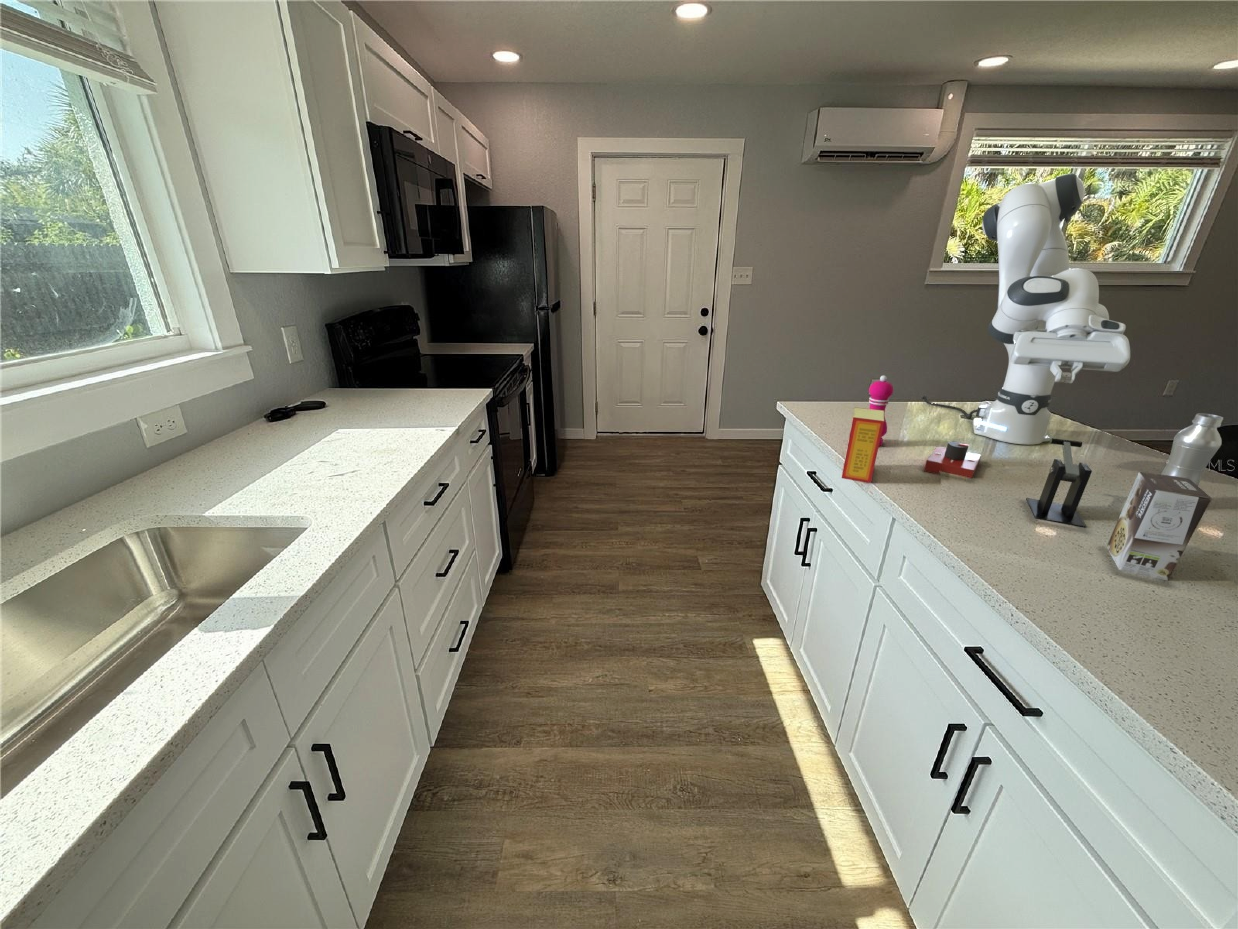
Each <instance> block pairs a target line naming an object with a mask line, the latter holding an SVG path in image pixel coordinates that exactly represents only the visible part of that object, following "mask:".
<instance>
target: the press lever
mask: <svg viewBox="0 0 1238 929" xmlns="http://www.w3.org/2000/svg"><path fill="white" fill-rule="evenodd" d="M1049 444H1051V445H1058V446H1059V445H1060V446H1061V449H1062V457H1063V464H1064V465H1065V467H1066V468H1065V470H1064V473H1063V476H1062V478H1061V481H1062V482H1068V483H1072V482H1073V483H1075V481H1076V480H1077V478H1078V477H1079V475H1080V473H1079V466H1078V465H1079V464H1074V460H1073V454H1072V447H1074V448H1082V446H1083V441H1079V440H1071V439H1063V438H1054V437H1050V441H1049ZM1061 481H1060V482H1061Z"/></svg>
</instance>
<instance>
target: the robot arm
mask: <svg viewBox="0 0 1238 929" xmlns="http://www.w3.org/2000/svg"><path fill="white" fill-rule="evenodd" d="M1085 188H1086V187H1085V184H1084V182H1083V180H1082V179H1081V178H1080V177H1079V176H1078V175H1077V174H1076V173H1073V172H1070V173H1064V174H1061V175H1058V176H1056V177H1055V178H1052V179H1049V180H1046V181H1043V182H1040V183H1035V182H1026V183H1022V184H1019V185H1016V186H1015V187H1013V188H1012V189H1010V190H1009V191H1007V193H1006V194H1005V195H1004V196H1003V198H1002V199H1001V202H996V203H994V204H993V205H992V206H990V207H989V208H987V209H986V211H985V212H984V214H982V220H981V228H982V232H983V233H984V235H985V237H987V239H988V240H990V241H992V242H997V254H998V255H997V256H998V257H997V258H998V282H997V299H996V313H995V314H994V316H993V317H992V319H991V321H990V322H989V324H988V327H987V331H988V334H989V335H990V337H992V339H994V340H995V341H997V342H999V343H1001V344H1003V346H1005V348H1006V351H1007V354H1008V355H1007V356H1008V365H1007V370H1006V375H1005V379H1004V382H1003V385H1002V387H1000V389H999V391H998V393H997V396H996V399H995V400H994V401H993V402H991V403H990V404H986V403H985V404H983V403H982V404H980V405H979V406H978V407H977V409H974V410H971V411H970V412H969V414H968V413H967V411H966V410H964V409H962V408H960V407H958V406H952V405H948V404H941V403H936V404H935V402H931V401H929V400H928V399H927V396H926V395H924V396H922V397H921V399H922V400H923V401H924V402H925V403H926V404H927V405H930V406H935V407H941V408H946V409H952V410H956V411H959V412H961V413H962V414H963V415H964V416H965V418H967V420H968V419H971V418H972V417H973V414H975V417H976V418H973V420H972V428H973V433H974V434H975V435H979V436H983V437H987V438H990V439H992V440H996V441H1000V442H1004V443H1008V444H1009V443H1010V444H1016V445H1028V446H1029V445H1031V446H1033V445H1039V444H1042V443H1045V442H1046V443H1047V442H1050V440H1051V436H1049V435H1047V433H1048V429H1049V426H1050V422H1051V417H1052V413H1051V411H1050V410H1048V407H1049V406H1050V403H1051V402H1052V397H1053V394H1052V391H1053V388H1054V385H1055V383H1064V384H1073V383H1074V382H1075V379H1076V375H1077V374H1079V372H1080V371H1081V370H1087V371H1088V370H1089V371H1099V372H1100V371H1102V372H1114V373H1117V372H1121V371H1122V370H1123V369H1124V368H1126V367H1127V366H1128V364H1129V363H1130V360H1131V346H1130V345H1131V344H1130V341H1129V338H1128V337H1127V336H1126V335H1125V334H1124V333H1125V331H1126V328H1127V326H1126V324H1125V323H1123V322H1119V321H1115V320H1111V319H1110V314H1109V311H1108V309H1107V307H1106V306H1105V305H1103V304H1101V303H1099V302H1100V301H1099V300H1100V287H1099V281H1098V279H1097V276H1096V275H1095V274H1094V273H1093V272H1092V271H1091V270H1089V269H1085V268H1080V267H1079V268H1077V267H1076V268H1072V267H1071V263H1070V257H1069V256H1070V255H1069V249H1068V244H1067V241H1066V237H1065V235H1064V232H1063V231H1062V227H1061V223H1063V221H1065V223H1066V224H1068V223H1070V222H1071V218H1072V217H1073V216H1074V215H1075V214H1076V213H1077V212H1078V211H1079V210H1080V208H1081V207H1082V206H1083V204H1084V198H1085V195H1086V194H1085V193H1086V189H1085ZM1062 369H1070V372H1067V371H1062ZM931 403H933V404H931Z"/></svg>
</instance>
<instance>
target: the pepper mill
mask: <svg viewBox="0 0 1238 929" xmlns="http://www.w3.org/2000/svg"><path fill="white" fill-rule="evenodd" d="M887 380H888V377H887V376H886V375H884V374H883V375H881V376H880V378H879V380H876V381H874V382H873V383H872V384H870V386H869V388H868V393H869V395H870V396H869V398H868V399H869V400H868V403H869V408H868V409H875V410H884V424H883V429H882V434H881V438H880V443H879V447H881V446H883V442H884V438H883V437H884V436H885V435H886V434H887V433H888V423H887V419H886V416H885V415H886V414H885V413H886V407H887V406H888V405H889V401H890V399H889V398H890V397H892V395H894V394H893V393H894V386H893V384H892V383H890V382H889V381H887Z"/></svg>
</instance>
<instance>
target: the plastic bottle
mask: <svg viewBox="0 0 1238 929" xmlns="http://www.w3.org/2000/svg"><path fill="white" fill-rule="evenodd" d="M1223 420H1224V417H1223V416H1220V415H1217V414H1212V413H1203V412H1198V413H1196V414H1195V416H1194V418H1193V419H1192V420H1191V425H1189V426H1187V427H1185V428H1183V429H1181V430H1180V431H1178V432H1177V433H1176V434H1175V435H1174V436H1173V442H1172V445H1171V449H1170V455H1169V457H1168V460H1167V462H1166V464H1165V467H1164V468H1163V470H1162V471H1161V473H1160V474H1161V475H1169V476H1176V477H1183V478H1188V479H1190V480H1191V481H1192V482H1194V483H1195V484H1196V485H1197V486H1198V487H1199V485H1200V482H1201V479H1202V476H1203V474H1204V472H1205V470H1206V468H1207V466H1208V464H1209V463H1210V461H1211V460H1212V459H1213V457H1214V456H1215V455H1216V453H1217V452H1218V450H1219V449H1220V448H1221V446H1222V442H1223V441H1222V437H1221V434H1220V433H1219V431H1218V428H1220V427H1221V425H1222V422H1223Z"/></svg>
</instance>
